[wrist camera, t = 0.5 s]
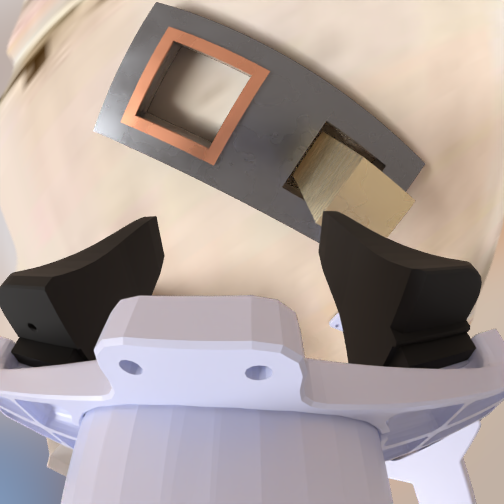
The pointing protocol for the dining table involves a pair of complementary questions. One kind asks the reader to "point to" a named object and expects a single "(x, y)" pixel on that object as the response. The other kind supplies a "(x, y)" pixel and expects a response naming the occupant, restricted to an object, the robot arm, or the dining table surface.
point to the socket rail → (242, 117)
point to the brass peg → (350, 187)
